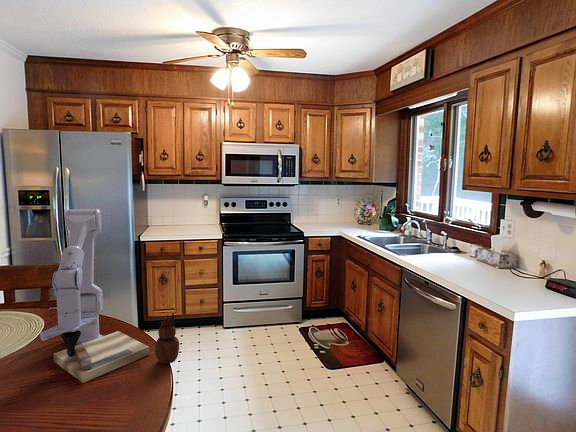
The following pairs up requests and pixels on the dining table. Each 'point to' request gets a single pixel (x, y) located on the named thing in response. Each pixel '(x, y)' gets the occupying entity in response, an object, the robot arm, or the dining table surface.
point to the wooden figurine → (167, 342)
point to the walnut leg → (82, 356)
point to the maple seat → (103, 355)
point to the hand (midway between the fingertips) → (71, 355)
